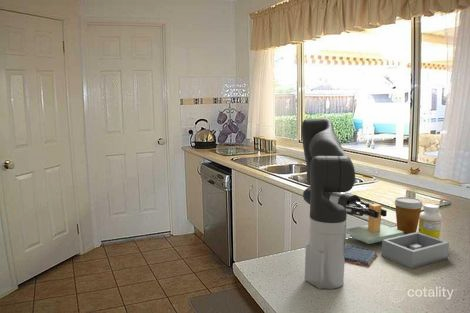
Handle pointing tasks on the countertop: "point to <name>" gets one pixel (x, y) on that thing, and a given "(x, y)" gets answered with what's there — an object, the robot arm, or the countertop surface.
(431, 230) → the supplement bottle
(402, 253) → the parts tub
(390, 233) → the lid
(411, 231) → the disposable coffee cup
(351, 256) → the woven mat
